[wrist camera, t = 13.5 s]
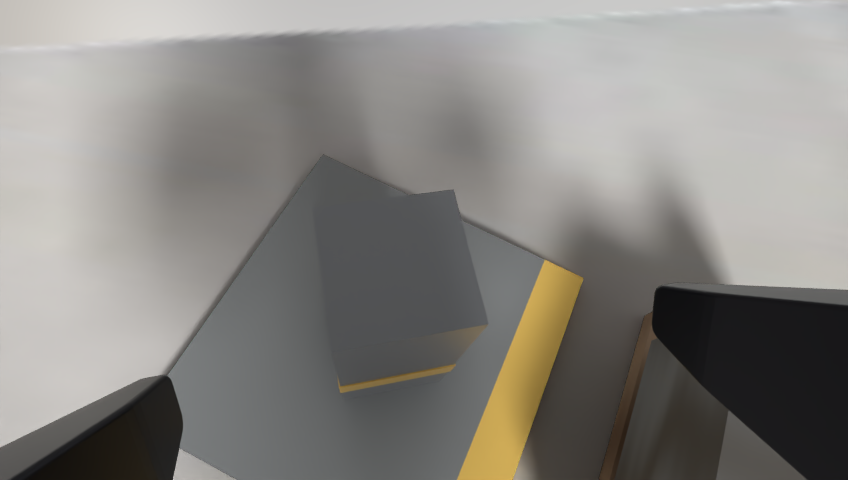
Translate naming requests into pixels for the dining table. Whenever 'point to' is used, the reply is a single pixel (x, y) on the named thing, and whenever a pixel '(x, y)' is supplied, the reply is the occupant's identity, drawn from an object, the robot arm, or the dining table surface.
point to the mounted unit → (681, 427)
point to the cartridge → (397, 290)
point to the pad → (317, 378)
